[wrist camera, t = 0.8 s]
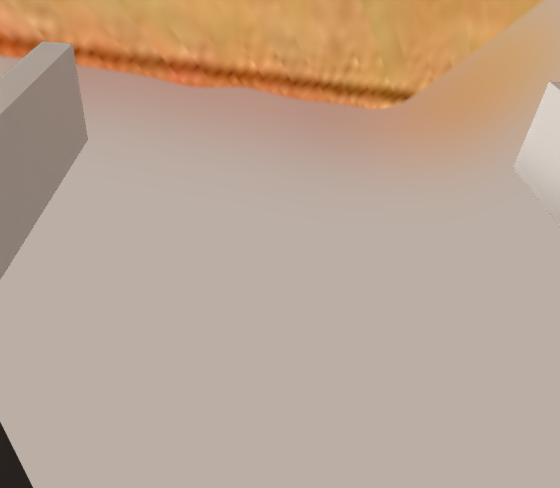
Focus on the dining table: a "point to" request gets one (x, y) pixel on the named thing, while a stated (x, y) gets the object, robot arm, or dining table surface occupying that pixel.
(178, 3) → the dining table surface
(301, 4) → the dining table surface
